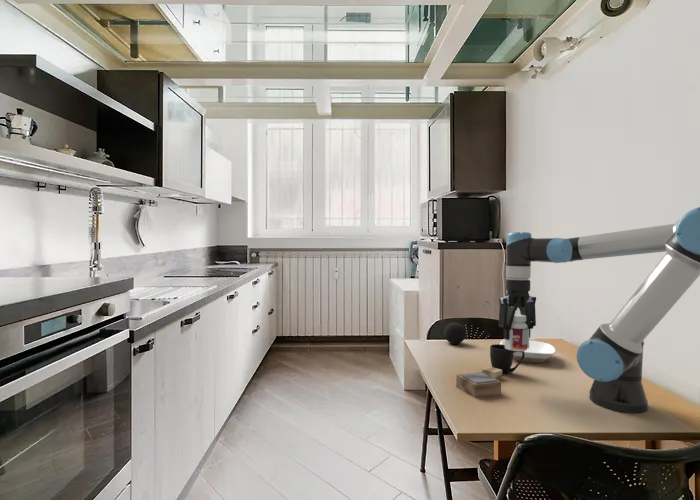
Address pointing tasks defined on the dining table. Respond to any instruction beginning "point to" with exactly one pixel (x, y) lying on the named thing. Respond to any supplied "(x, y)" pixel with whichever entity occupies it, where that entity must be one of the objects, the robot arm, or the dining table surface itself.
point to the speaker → (454, 333)
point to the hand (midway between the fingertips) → (516, 348)
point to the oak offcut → (493, 372)
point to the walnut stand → (478, 384)
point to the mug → (503, 358)
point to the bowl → (535, 352)
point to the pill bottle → (519, 333)
